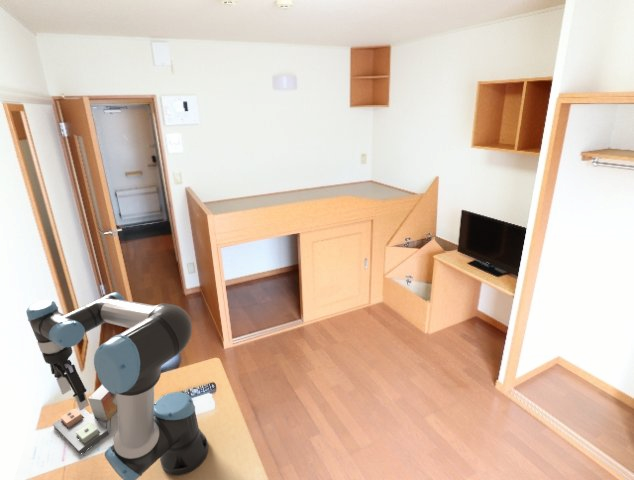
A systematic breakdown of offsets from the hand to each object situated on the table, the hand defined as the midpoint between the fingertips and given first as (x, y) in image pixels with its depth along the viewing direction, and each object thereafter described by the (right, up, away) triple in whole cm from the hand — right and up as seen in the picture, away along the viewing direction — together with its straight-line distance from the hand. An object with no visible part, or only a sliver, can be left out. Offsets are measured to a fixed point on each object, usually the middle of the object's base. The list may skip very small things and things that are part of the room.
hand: (75, 399), depth 126 cm
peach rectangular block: (-9, -15, +13) cm, 22 cm away
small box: (+2, -13, +18) cm, 22 cm away
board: (-4, -16, +10) cm, 19 cm away
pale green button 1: (+1, -17, +7) cm, 18 cm away
